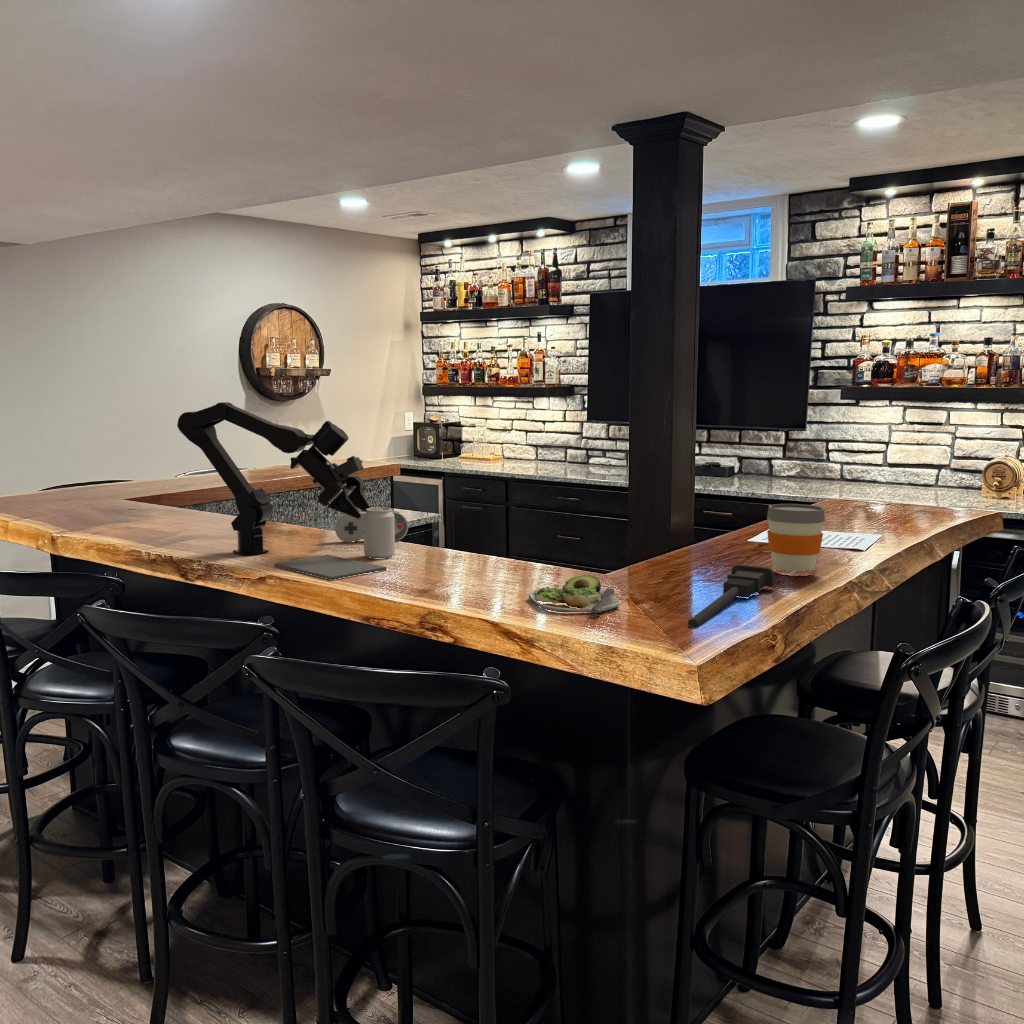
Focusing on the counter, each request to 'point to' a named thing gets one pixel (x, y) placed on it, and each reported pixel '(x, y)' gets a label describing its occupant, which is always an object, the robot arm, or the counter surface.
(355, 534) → the game controller
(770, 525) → the reusable coffee cup
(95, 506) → the counter surface
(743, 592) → the electrical plug
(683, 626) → the counter surface
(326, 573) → the bar mat
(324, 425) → the robot arm
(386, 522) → the can
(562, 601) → the avocado toast plate
